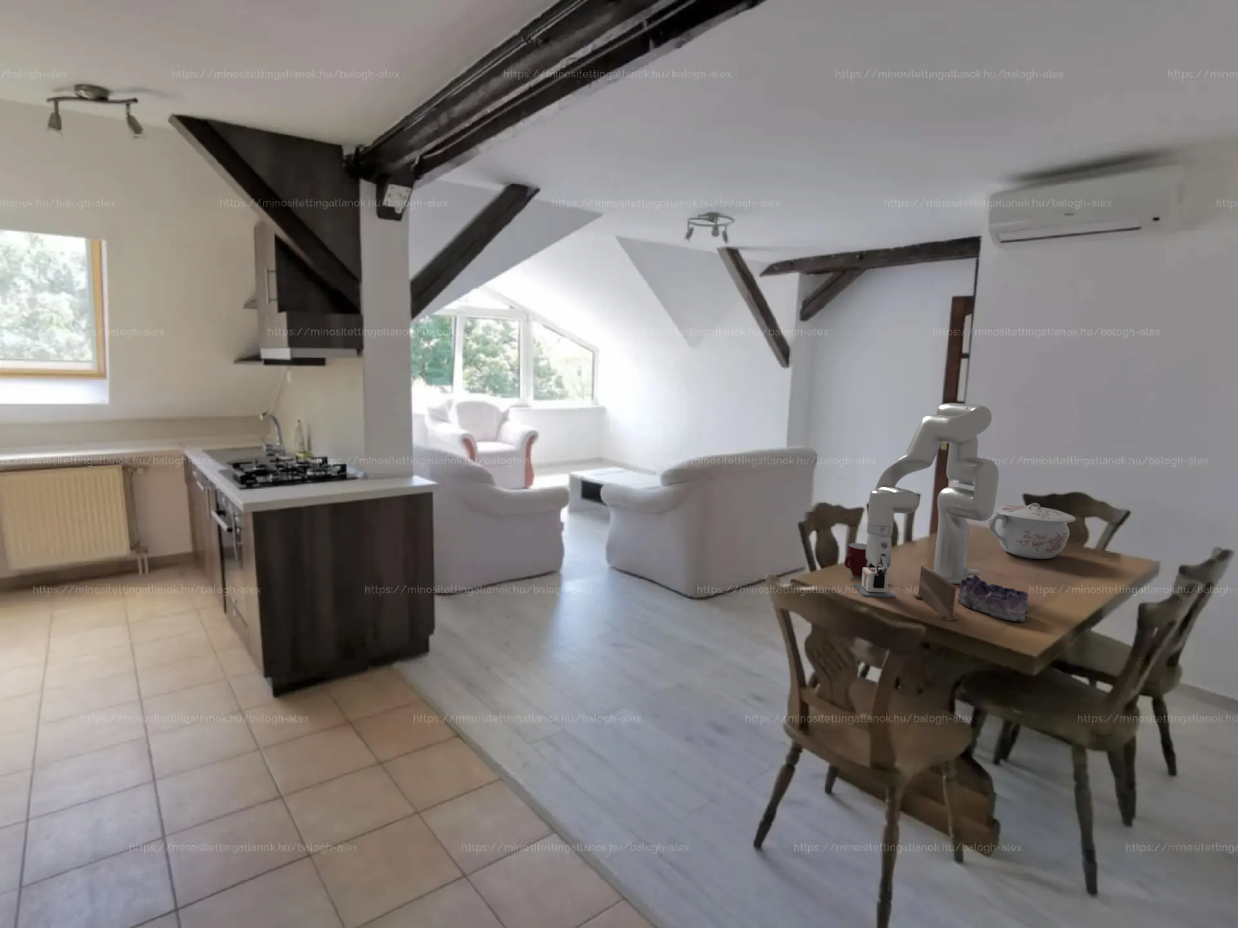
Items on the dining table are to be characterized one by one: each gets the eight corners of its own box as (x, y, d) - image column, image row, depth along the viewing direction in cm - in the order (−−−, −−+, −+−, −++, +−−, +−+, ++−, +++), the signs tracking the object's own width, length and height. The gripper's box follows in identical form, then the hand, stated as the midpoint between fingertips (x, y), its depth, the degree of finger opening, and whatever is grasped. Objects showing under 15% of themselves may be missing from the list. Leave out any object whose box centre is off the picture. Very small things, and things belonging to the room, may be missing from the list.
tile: (884, 586, 218) (884, 585, 218) (895, 597, 208) (895, 595, 208) (853, 585, 219) (853, 583, 218) (863, 596, 209) (863, 594, 209)
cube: (880, 586, 216) (881, 567, 215) (886, 592, 210) (888, 573, 209) (860, 585, 216) (862, 566, 216) (867, 591, 210) (868, 572, 210)
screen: (928, 596, 210) (931, 565, 209) (958, 620, 190) (962, 587, 189) (912, 596, 210) (915, 565, 209) (940, 620, 190) (944, 586, 189)
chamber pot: (1069, 553, 268) (1076, 502, 265) (1071, 569, 245) (1078, 514, 242) (989, 541, 283) (995, 493, 280) (984, 555, 260) (990, 503, 257)
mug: (856, 580, 224) (859, 551, 222) (836, 574, 230) (838, 545, 229) (875, 575, 230) (878, 547, 229) (855, 569, 237) (857, 541, 235)
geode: (947, 605, 203) (951, 573, 203) (964, 603, 210) (968, 571, 210) (1020, 624, 187) (1024, 589, 187) (1036, 621, 195) (1040, 587, 194)
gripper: (902, 536, 202) (896, 593, 204) (881, 523, 219) (877, 576, 222) (877, 535, 202) (871, 592, 205) (858, 522, 219) (854, 575, 222)
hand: (874, 583), depth 213 cm, fingers open, 6 cm apart
